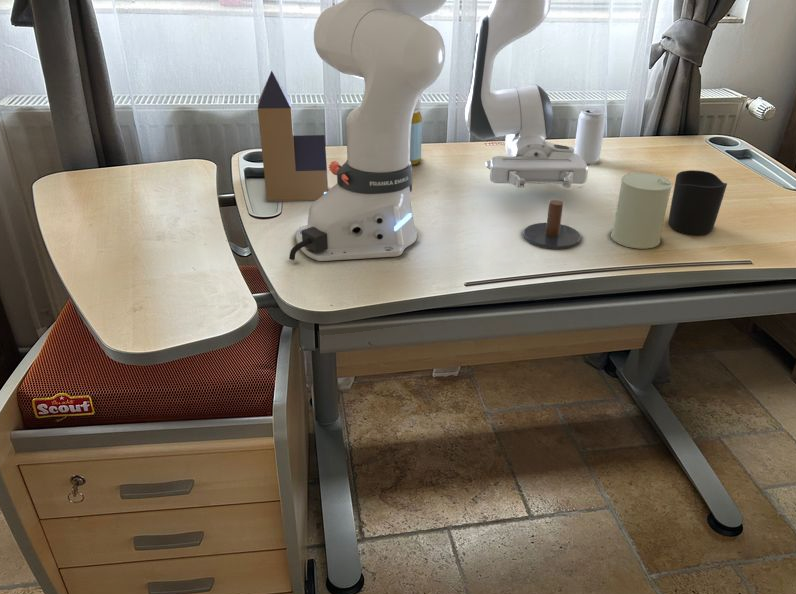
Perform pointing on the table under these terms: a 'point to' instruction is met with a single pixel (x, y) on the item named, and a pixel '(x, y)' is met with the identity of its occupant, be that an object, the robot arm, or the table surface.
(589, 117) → the beverage can
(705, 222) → the pen holder
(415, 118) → the bottle
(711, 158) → the table surface
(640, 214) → the can
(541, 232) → the lid
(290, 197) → the toy building blocks
